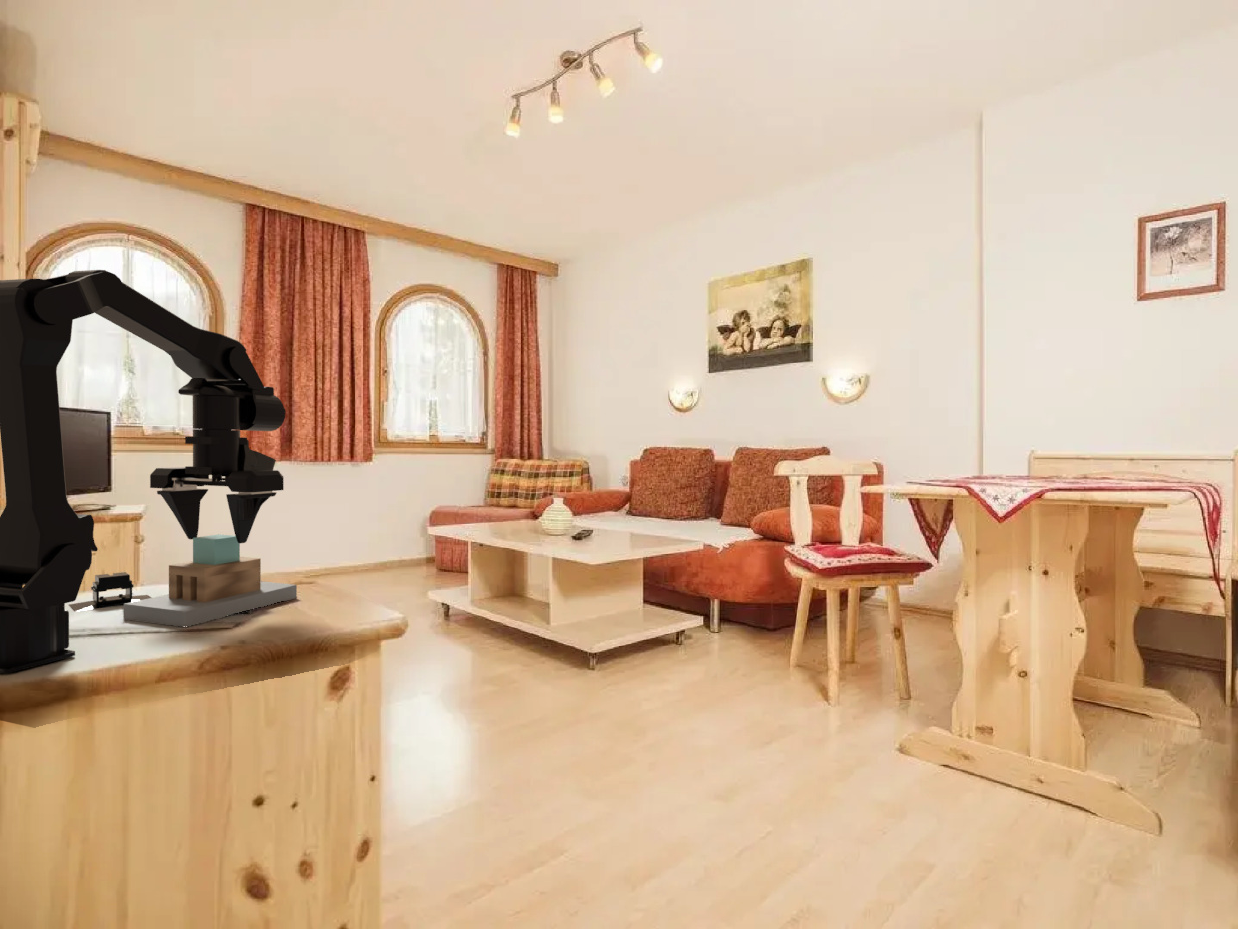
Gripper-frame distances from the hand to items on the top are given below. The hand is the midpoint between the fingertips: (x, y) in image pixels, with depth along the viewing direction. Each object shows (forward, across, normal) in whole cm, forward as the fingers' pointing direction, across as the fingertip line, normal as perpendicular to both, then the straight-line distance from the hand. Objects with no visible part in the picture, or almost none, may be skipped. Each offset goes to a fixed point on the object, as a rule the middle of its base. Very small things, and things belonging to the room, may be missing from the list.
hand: (217, 541), depth 96 cm
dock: (+9, 0, 0) cm, 9 cm away
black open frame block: (+10, +16, +3) cm, 19 cm away
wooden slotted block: (+7, 0, 0) cm, 7 cm away
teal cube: (+3, 0, 0) cm, 3 cm away
